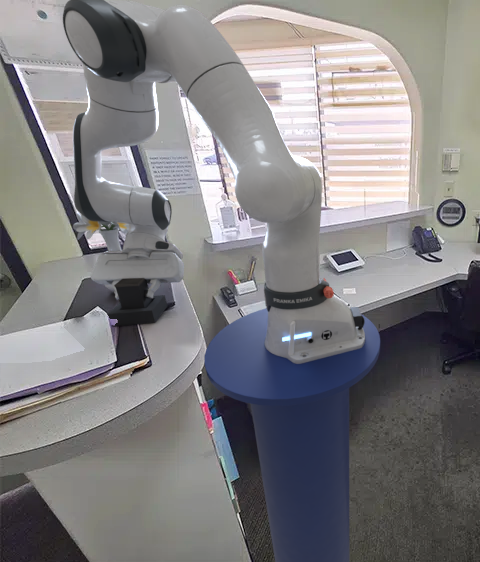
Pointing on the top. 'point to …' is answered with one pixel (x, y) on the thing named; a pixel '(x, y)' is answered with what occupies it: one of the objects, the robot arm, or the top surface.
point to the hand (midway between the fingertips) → (134, 298)
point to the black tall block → (132, 293)
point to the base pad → (139, 312)
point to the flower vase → (102, 233)
